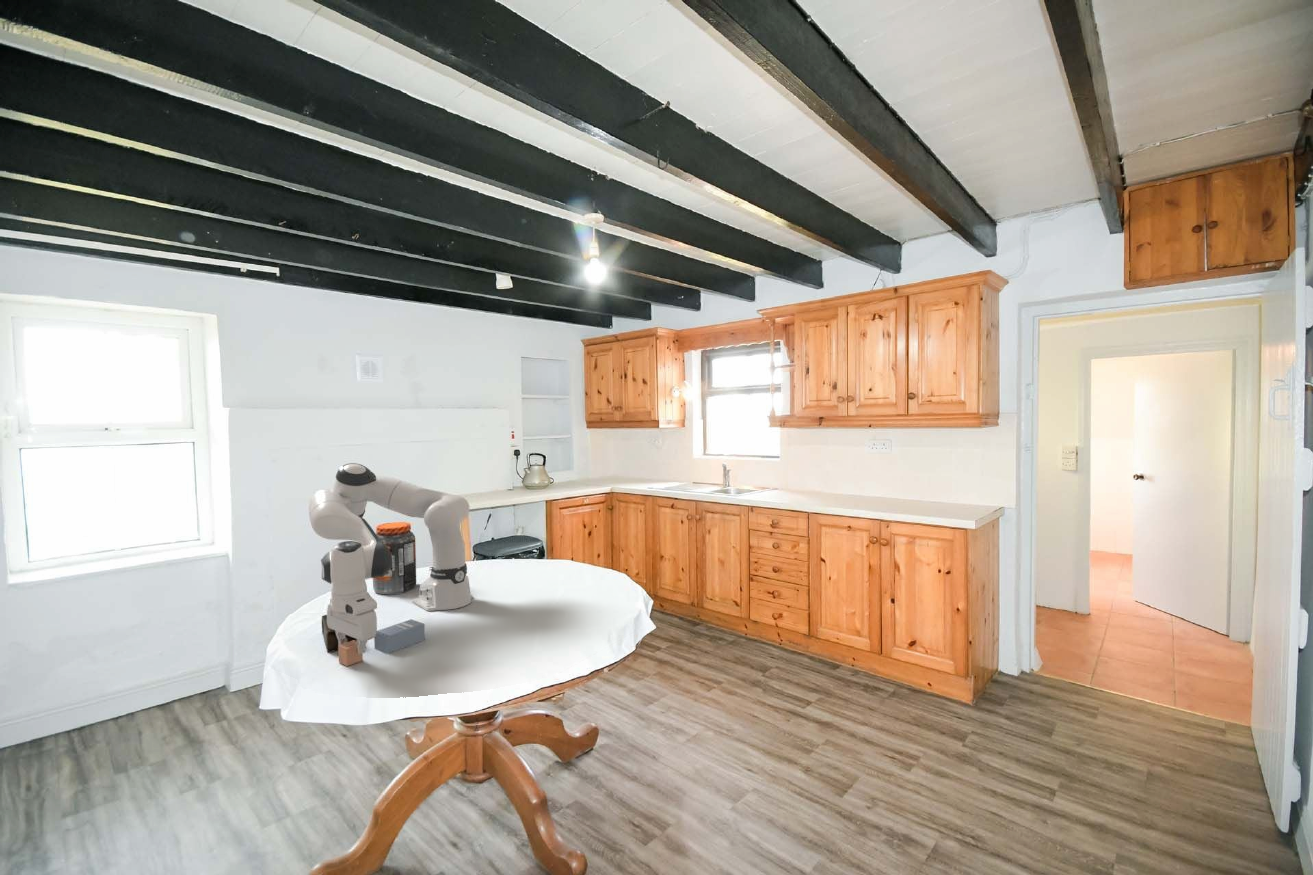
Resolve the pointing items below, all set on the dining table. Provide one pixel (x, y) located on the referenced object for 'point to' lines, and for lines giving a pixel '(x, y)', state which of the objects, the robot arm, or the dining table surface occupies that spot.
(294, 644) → the dining table surface
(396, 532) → the supplement tub
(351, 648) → the stub
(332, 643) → the beverage carton
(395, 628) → the double-striped slate block
